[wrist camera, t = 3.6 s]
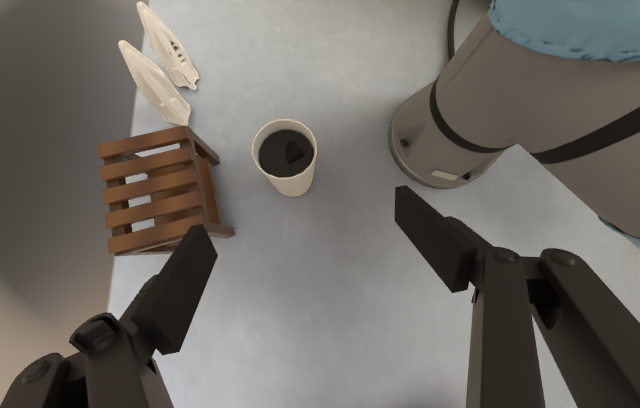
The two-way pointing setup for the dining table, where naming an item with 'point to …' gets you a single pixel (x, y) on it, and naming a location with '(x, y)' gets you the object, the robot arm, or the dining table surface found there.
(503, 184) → the dining table surface
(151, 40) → the shaker set
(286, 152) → the cream cup
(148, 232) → the rack
